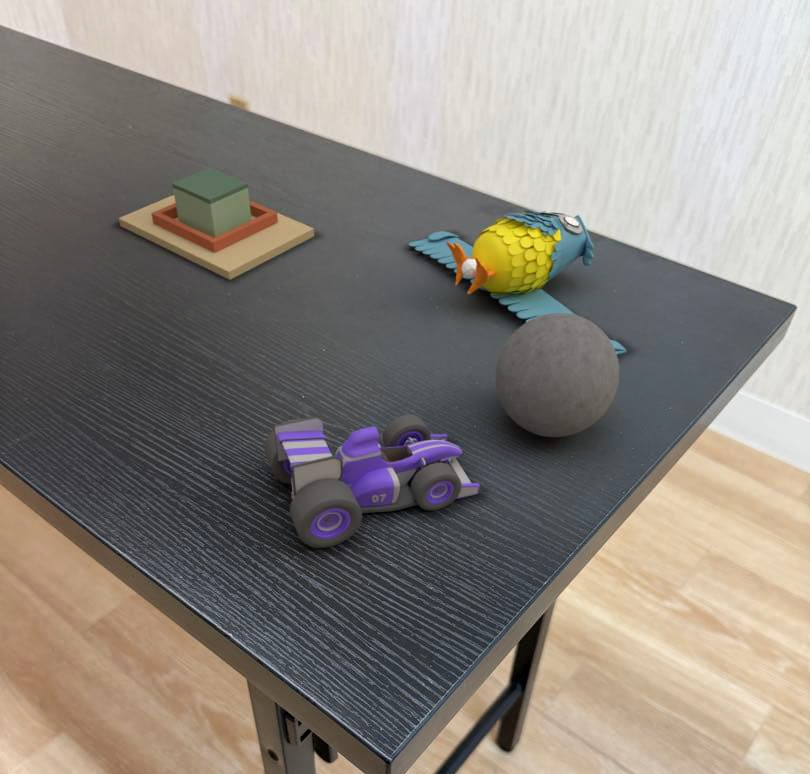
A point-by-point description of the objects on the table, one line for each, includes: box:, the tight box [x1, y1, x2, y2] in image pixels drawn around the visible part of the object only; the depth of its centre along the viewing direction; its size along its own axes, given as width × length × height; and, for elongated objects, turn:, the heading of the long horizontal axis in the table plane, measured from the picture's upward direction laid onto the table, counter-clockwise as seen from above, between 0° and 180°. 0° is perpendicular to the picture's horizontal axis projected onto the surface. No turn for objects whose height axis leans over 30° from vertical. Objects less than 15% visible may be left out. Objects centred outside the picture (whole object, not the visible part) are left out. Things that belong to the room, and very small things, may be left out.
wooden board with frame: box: [118, 194, 315, 281], centre depth 91 cm, size 18×13×2 cm
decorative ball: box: [494, 313, 620, 438], centre depth 66 cm, size 10×10×10 cm
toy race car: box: [263, 413, 481, 549], centre depth 61 cm, size 10×15×6 cm, turn 111°
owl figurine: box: [408, 209, 628, 356], centre depth 81 cm, size 28×9×15 cm
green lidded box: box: [171, 167, 251, 238], centre depth 89 cm, size 6×6×4 cm
